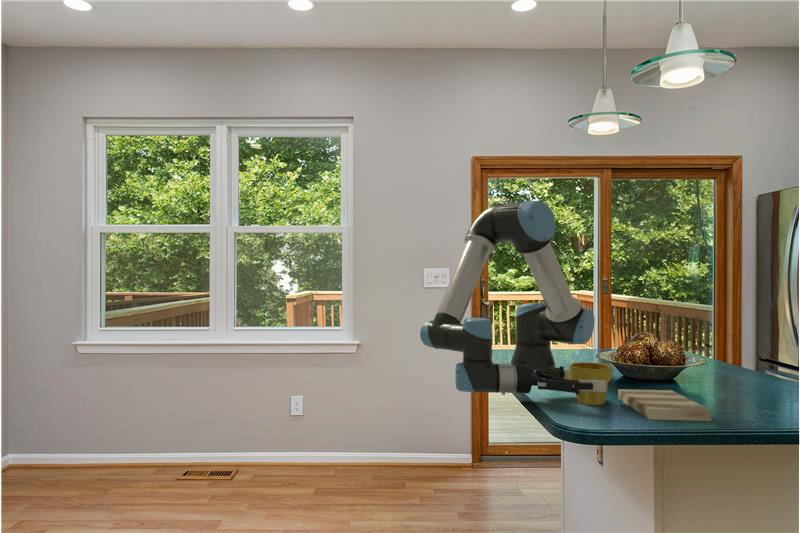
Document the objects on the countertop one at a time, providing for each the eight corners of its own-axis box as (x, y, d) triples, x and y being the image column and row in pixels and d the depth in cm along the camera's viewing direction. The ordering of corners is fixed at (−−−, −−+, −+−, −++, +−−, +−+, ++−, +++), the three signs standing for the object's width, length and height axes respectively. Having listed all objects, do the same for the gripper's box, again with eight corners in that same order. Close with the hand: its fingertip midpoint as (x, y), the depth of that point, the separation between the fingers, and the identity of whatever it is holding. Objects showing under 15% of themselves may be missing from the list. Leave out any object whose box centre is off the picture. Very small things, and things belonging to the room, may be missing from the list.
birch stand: (618, 398, 143) (618, 389, 143) (671, 399, 142) (671, 390, 142) (649, 419, 123) (649, 408, 123) (711, 420, 122) (711, 410, 122)
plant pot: (566, 404, 136) (566, 366, 136) (573, 396, 145) (573, 360, 146) (609, 409, 131) (609, 370, 132) (613, 400, 141) (613, 363, 141)
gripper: (507, 382, 152) (582, 384, 151) (522, 404, 127) (613, 407, 126) (507, 356, 152) (583, 357, 151) (522, 373, 127) (613, 375, 126)
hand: (596, 380), depth 138 cm, fingers open, 13 cm apart
